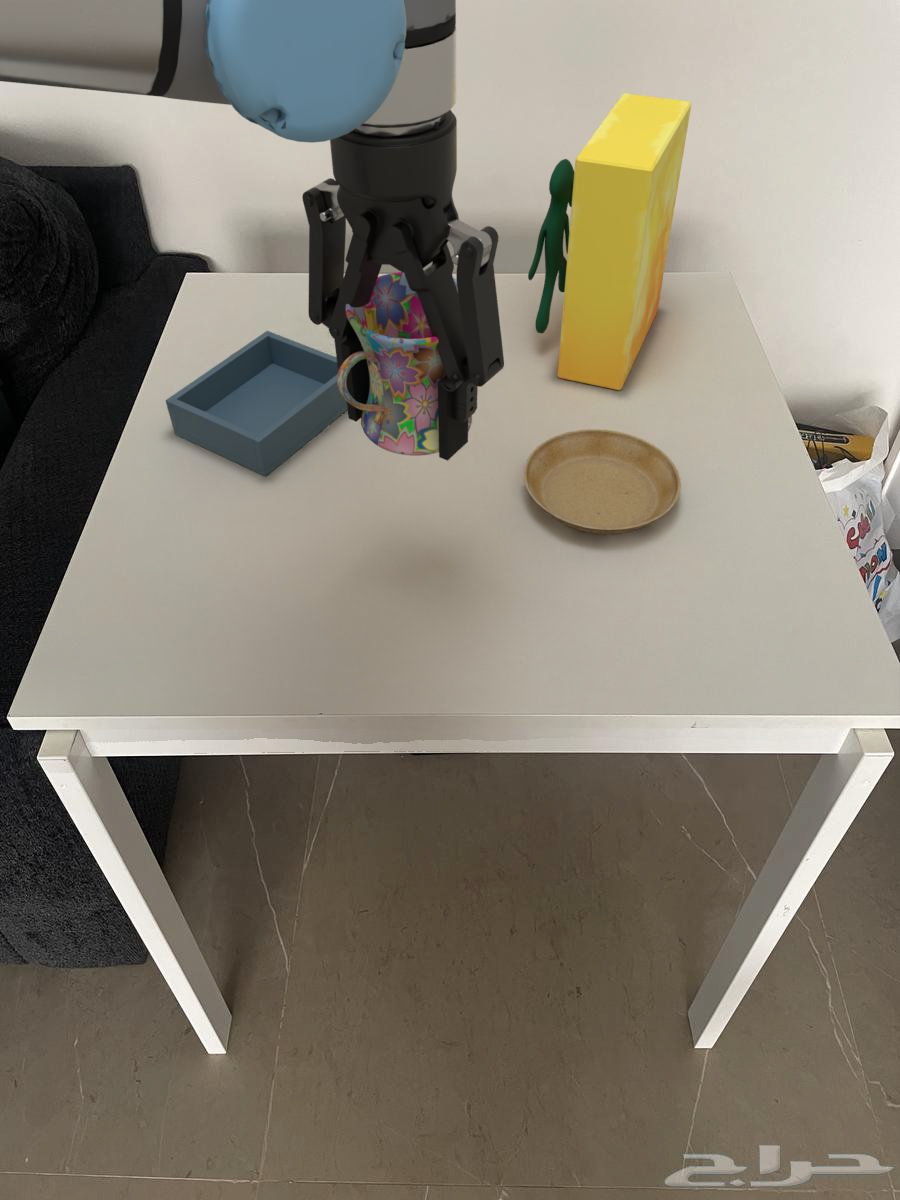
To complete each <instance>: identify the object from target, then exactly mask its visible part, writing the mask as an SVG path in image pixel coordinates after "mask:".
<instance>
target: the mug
mask: <svg viewBox="0 0 900 1200" xmlns="http://www.w3.org/2000/svg"><path fill="white" fill-rule="evenodd" d="M453 279H454V282H455V285H456V288H457V278H454V277H453ZM457 291H458V288H457ZM346 315H347V318H348V320H349V322H350V324H351V325H352V327H353V329H354V331H355V332H356V334H357V336H358V338H359V340H360V342H361V345H362V347H363V350H364V352H362V351H361V352H356V353H354V354H352V355H350V356H349V357H348V358H347V359H346V360H345V361H344V362H343V364H342V365H341V367H340V369H339V372H338V376H337V385H338V388H339V391H340V393H341V395H342V396H343V397H344V399H345V400H346V401H347V402H348V403H350V404H351V405H353V406H354V407H356V408H358V409H360V410H363V412H362V416H361V418H360V425H361V429H362V431H363V433H364V435H365V436H366V437H367V439H369V441H371V443H373V444H374V445H375V446H377V447H379V448H381V449H383V450H384V451H387V452H389V453H392V454H397V455H403V456H414V457H415V456H416V457H417V456H429V455H433V454H437V453H438V454H439V424H438V381H439V380H441V379H442V378H443V377H444V376H445V375H447V374H446V372H445V369H444V366H443V363H442V361H441V358H440V355H439V352H438V350H437V347H436V345H437V344H438V338H437V337H433V336H432V333H431V330H430V327H429V325H428V322H427V319H426V316H425V313H424V311H423V308H422V305H421V302H420V300H419V297H418V294H417V293H416V292H415V291H412V290H411V289H410V287H409V285H408V282H407V280H406V277H405V274H404V272H401V271H398V272H392V273H387V274H383V275H380V276H378V278H377V281H376V284H375V287H374V290H373V293H372V296H371V299H370V302H369V303H368V304H367V305H365V306H362V307H358V308H354V307H351V306H350V305H349V304H346ZM362 359H367V364H368V369H369V376H370V390H369V397H368V401H367V404H361V403H359V402H357V401H356V400H354V399H353V398H352V397H351V395H350V394H349V392H348V390H347V386H346V379H347V376H348V373H349V371H350V369H351V368H352V367H353V366H354V365H355V364H356V363H357V362H358V361H360V360H362ZM472 423H473V415H472V416H471V417H470V418H468V432H469V431H470V429H471V427H472Z"/></svg>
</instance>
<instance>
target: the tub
mask: <svg viewBox="0 0 900 1200" xmlns="http://www.w3.org/2000/svg"><path fill="white" fill-rule="evenodd" d="M338 372H339V369H338V367H337V359H336V356H334V355H332V354H329V353H327V352H324V351H321V350H319V349H315V348H313V347H310V346H308V345H305V344H303V343H300V342H298V341H295V340H292V339H290V338H288V337H284V336H282V335H280V334H277V333H275V332H272V331H270V330H266V331H264V332H263V333H261V334H260V335H258V336H257V337H256V338H254V339H252V340H251V341H249V342H248V343H247V344H246V345H244V346H242V347H241V348H239V349H238V350H237V351H235V352H233V353H232V354H230V356H228V357H227V358H225V359H224V360H222V361H220V362H219V363H217V364H216V365H215V366H213V367H212V368H211V369H209V370H208V371H206V372H205V373H203V374H202V375H200V376H198V377H197V378H196V379H194V380H193V381H191V382H190V383H188V384H187V385H186V386H184V387H183V388H181V389H180V390H178V391H177V392H175V393H174V394H172V395H171V396H170V397H168V398H166V399H165V404H166V408H167V411H168V415H169V418H170V422H171V426H172V429H173V432H174V433H173V434H174V435H175V436H178V437H180V438H181V439H184V440H186V441H189V442H191V443H192V444H195V445H197V446H200V447H202V448H204V449H205V450H208V451H210V452H212V453H214V454H217V455H219V456H221V457H222V458H225V459H228V460H230V461H232V462H234V463H237V464H238V465H241V466H243V467H245V468H247V469H249V470H251V471H253V472H255V473H258V474H260V475H262V476H265V477H267V476H268V475H269V474H270V473H272V472H273V471H274V470H275V469H276V468H278V467H279V466H280V465H281V464H283V463H284V462H285V461H286V460H288V459H289V458H290V457H291V456H293V454H295V453H297V451H299V450H300V449H301V448H303V447H304V446H305V445H306V444H308V442H310V441H311V440H312V439H313V438H314V437H316V436H317V435H318V434H319V433H321V432H322V431H324V430H325V429H326V428H327V427H328V426H330V425H331V424H332V423H333V422H334V421H335V420H337V419H338V418H339V417H340V416H343V414H344V413H345V412H347V411H348V408H347V401H346V400H345V399H344V397H343V396H342V395H341V393H340V391H339V388H338V385H337V376H338Z"/></svg>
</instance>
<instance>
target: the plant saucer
mask: <svg viewBox="0 0 900 1200" xmlns="http://www.w3.org/2000/svg"><path fill="white" fill-rule="evenodd" d="M523 479H524V481H523V482H524V484H525V487H526V490H527V492H528V493H529V495H530V497H531V498H532V499H533V500H534V502H535V503H536V504H537V505H538V507H540V508H541V509H542V510H543V511H544V512H545V513H546V514H548V515H549V516H550V517H552V518H553V519H554V520H557V521H558V522H560V523H561V524H564V525H566V526H567V527H570V528H573V529H576V530H579V531H581V532H585V533H589V534H601V535H602V534H603V535H607V534H608V535H611V534H613V535H614V534H621V533H627V532H631V531H635V530H639V529H640V528H643V527H646V526H648V525H650V524H651V523H654V522H655V521H658V520H659V519H660V518H661V517H663V516H664V515H666V514H667V513H668V512H669V511H671V509H672V508H673V507H674V505H676V503H677V501H678V499H679V496H680V493H681V488H682V483H681V477H680V473H679V471H678V469H677V466H676V465H675V464H674V462H673V461H672V459H671V458H670V457H669V456H668V455H667V454H666V453H664V452H663V451H662V450H661V449H660V448H658V447H657V446H655V445H654V444H652V443H650V442H649V441H647V440H645V439H642V438H640V437H637V436H635V435H631V434H628V433H625V432H621V431H617V430H610V429H598V428H597V429H595V428H592V429H579V430H573V431H568V432H564V433H560V434H557V435H556V436H553V437H551V438H549V439H547V440H545V441H544V442H542V443H541V444H540V445H538V446H537V447H536V448H535V449H533V451H532V452H531V454H530V455H529V456H528V458H527V460H526V462H525V464H524V471H523Z"/></svg>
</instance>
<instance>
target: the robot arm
mask: <svg viewBox="0 0 900 1200" xmlns="http://www.w3.org/2000/svg"><path fill="white" fill-rule="evenodd" d="M456 3H457V1H456V0H0V82H4V83H13V84H15V83H16V84H26V85H36V86H45V87H46V86H47V87H56V88H66V89H75V90H86V91H87V90H89V91H97V92H107V93H116V94H117V93H118V94H129V95H139V96H150V97H161V98H167V99H173V100H181V101H188V102H189V101H190V102H199V103H209V104H218V105H227V106H231V107H232V108H233V110H235V112H237V113H238V115H240V116H241V117H242V118H244V119H245V120H247V121H248V122H250V123H252V124H255V125H258V126H260V127H261V128H263V129H265V130H267V131H269V132H271V133H273V134H275V136H278V137H280V138H282V139H285V140H289V141H293V142H297V143H298V142H299V143H313V144H314V143H321V142H322V143H324V142H328V141H329V145H330V155H331V167H332V174H333V177H332V178H331V177H330V178H327V179H325V180H323V181H322V182H320V183H318V184H317V185H314V186H312V187H310V188H308V190H305V191H304V192H303V193H302V195H301V197H302V203H303V206H304V211H305V215H306V219H307V223H308V229H309V230H308V311H307V312H308V313H307V314H308V318H309V320H310V321H311V322H312V324H314V325H316V326H319V325H321V324H322V325H323V326H325V327H326V328H327V329H328V332H329V335H330V336H331V338H332V339H334V349H335V357H336V359H337V367H338V369H340V367H341V365H342V364H343V362H344V361H345V360H346V359H347V358H348V357H349V356H350V355H352V354H354V353H356V352H361V351H362V352H364V350H363V347H362V345H361V342H360V340H359V338H358V336H357V334H356V332H355V331H354V329H353V327H352V325H351V324H350V322H349V320H348V318H347V315H346V304H349V305H350V306H351V307H354V308H358V307H362V306H365V305H367V304H368V303H369V302H370V299H371V296H372V293H373V290H374V287H375V284H376V281H377V278H378V277H379V275H380V272H381V269H382V266H383V265H384V266H386V265H387V266H391V267H393V268H394V269H396V270H398V272H404V274H405V277H406V280H407V282H408V285H409V287H410V289H411V290H412V291H415V292H416V293H417V294H418V297H419V300H420V302H421V305H422V308H423V311H424V313H425V316H426V319H427V322H428V325H429V327H430V330H431V333H432V336H433V337H437V338H438V344H437V345H436V347H437V350H438V352H439V355H440V358H441V361H442V363H443V366H444V369H445V372H446V374H447V375H445V376H444V377H443V378H442V379H441V380H439V381H438V424H439V452H438V457H439V458H440V459H443V460H444V461H447V462H448V461H449V460H451V458H452V457H454V455H456V454H457V453H458V452H459V451H461V449H462V448H463V447H465V445H466V444H468V442H469V431H468V418H470V417H471V416H472V417H473V415H475V413H476V411H477V409H478V387H480V388H481V387H483V386H484V385H486V384H487V383H488V382H489V381H490V380H491V379H493V377H495V376H496V375H497V374H498V373H500V372H501V371H502V370H503V368H504V367H505V358H504V350H503V349H504V348H503V340H502V329H501V322H500V312H499V303H498V292H497V284H496V276H495V266H494V263H495V258H496V253H497V249H498V243H499V234H498V231H497V230H496V228H494V227H493V226H490V225H486V226H484V227H483V228H481V229H480V230H478V229H476V228H475V227H473V226H471V225H469V224H468V223H465V222H463V221H461V220H460V217H459V213H458V211H457V210H458V209H457V208H456V205H455V203H454V199H453V190H454V189H453V188H454V186H455V180H456V176H457V171H458V157H457V156H458V136H457V135H458V131H457V130H458V120H457V117H456V115H455V114H454V112H453V111H452V109H453V107H454V106H455V104H456V102H457V26H456V25H457V11H456V9H457V8H456V7H457V5H456ZM347 223H348V224H349V227H350V229H351V232H352V236H351V239H350V242H349V246H348V249H347V250H348V251H347V252H346V235H347V234H346V233H347V232H346V231H347ZM448 243H450V244H451V246H452V248H453V254H451V252H450V248H449V246H448ZM345 256H346V257H345ZM345 262H346V263H347V266H346V269H345ZM430 264H431V265H430ZM428 265H430V266H429V267H427V266H428ZM454 265H456V277H455V278H454V276H453V274H454V273H453V272H454V269H455V266H454ZM426 267H427V268H426ZM424 268H425V269H424ZM453 278H454V279H457V288H458V291H457V288H456V285H455V282H454V279H453ZM346 386H347V390H348V392H349V394H350V395H351V397H352V398H353V399H354V400H356V401H357V402H359V403H361V404H367V401H368V397H369V390H370V376H369V369H368V364H367V359H362V360H360V361H358V362H357V363H356V364H355V365H354V366H353V367H352V368H351V369H350V371H349V373H348V376H347V379H346ZM347 408H348V410H347V416H348V417H347V418H348V419H349V420H350V421H351V420H352V421H354V422H358V421H359V420H361V416H362V412H363V410H360V409H358V408H356V407H354V406H353V405H351V404H350V403H348V402H347Z"/></svg>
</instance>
